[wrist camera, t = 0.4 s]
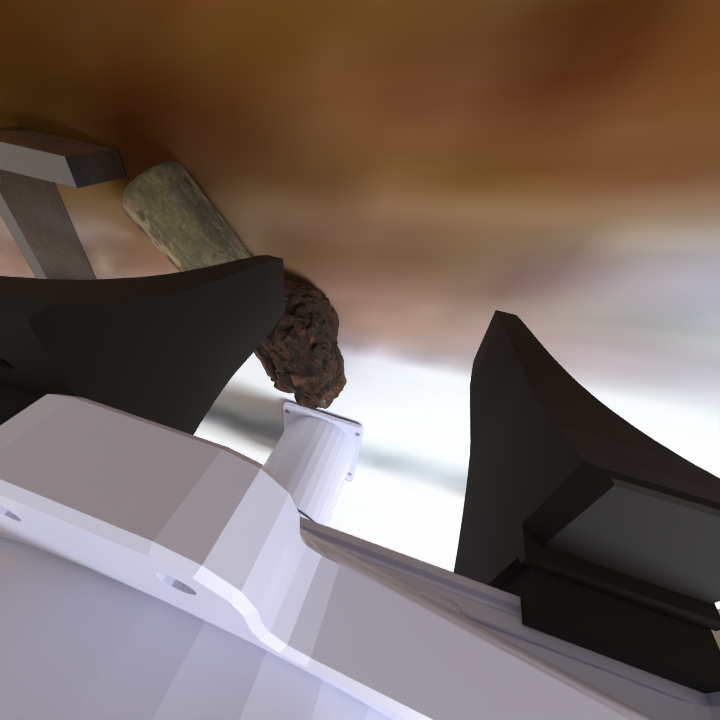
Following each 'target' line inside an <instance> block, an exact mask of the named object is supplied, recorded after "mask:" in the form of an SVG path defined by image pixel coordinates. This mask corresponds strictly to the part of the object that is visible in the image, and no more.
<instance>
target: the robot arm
mask: <svg viewBox="0 0 720 720" xmlns="http://www.w3.org/2000/svg"><path fill="white" fill-rule="evenodd" d="M284 311H285V293H284V269H283V259H281V258H277V257H273V256H269V255H261V256H254V257H249V258H244V259H239V260H235V261H231V262H226V263H222V264H218V265H213V266H209V267H204V268H199V269H193V270H188V271H183V272H178V273H171V274H165V275H156V276H148V277H137V278H119V279H99V280H67V279H38V278H22V277H6V276H0V720H720V650H719V647H718V645H717V643H716V640H715V638H714V636H713V633H712V631H711V630H714V631H718V630H720V615H719V613H718V610H717V608H716V606H715V604H714V603H715V602H718V601H720V478H718V477H716V476H714V475H713V474H711V473H709V472H707V471H705V470H703V469H702V468H700V467H698V466H696V465H694V464H693V463H691V462H689V461H687V460H686V459H684V458H682V457H681V456H679V455H678V454H676V453H674V452H673V451H671V450H669V449H668V448H666V447H665V446H663V445H661V444H660V443H658V442H657V441H655V440H653V439H652V438H650V437H649V436H647V435H646V434H644V433H643V432H641V431H640V430H638V429H637V428H635V427H634V426H632V425H631V424H630V423H628V422H627V421H626V420H624V419H623V418H621V417H620V416H619V415H617V414H616V413H615V412H613V411H612V410H610V409H609V408H608V407H607V406H605V405H604V404H603V403H601V402H600V401H599V400H598V399H597V398H595V397H594V396H593V395H592V394H591V393H589V392H588V391H587V390H586V389H585V388H584V387H582V386H581V385H580V384H579V383H578V382H577V381H576V380H575V379H574V378H573V377H572V376H570V375H569V374H568V372H567V371H566V370H565V369H564V368H563V367H562V366H561V365H560V364H559V363H558V362H557V361H556V360H555V359H554V358H553V357H552V356H551V355H550V354H549V353H548V351H547V350H546V349H545V348H544V347H543V346H542V344H541V343H540V342H539V341H538V340H537V339H536V337H535V336H534V335H533V334H532V332H531V331H530V330H529V329H528V328H527V326H526V325H525V324H524V323H523V322H522V321H521V319H520V318H519V317H518V316H517V315H514V314H510V313H506V312H501V311H497V310H496V311H495V313H494V315H493V318H492V320H491V322H490V325H489V327H488V329H487V331H486V334H485V336H484V338H483V340H482V343H481V345H480V347H479V350H478V352H477V354H476V356H475V359H474V362H473V368H472V375H471V382H470V437H471V443H470V460H469V469H468V478H467V486H466V494H465V502H464V510H463V517H462V523H461V530H460V537H459V544H458V550H457V556H456V562H455V568H454V573H453V572H450V571H448V570H445V569H442V568H439V567H437V566H434V565H431V564H428V563H426V562H423V561H420V560H417V559H415V558H412V557H409V556H407V555H404V554H401V553H398V552H396V551H393V550H390V549H387V548H385V547H382V546H379V545H377V544H374V543H371V542H368V541H366V540H363V539H360V538H357V537H355V536H352V535H349V534H346V533H344V532H341V531H338V530H336V529H333V528H330V527H327V526H328V523H329V520H330V518H331V515H332V512H333V510H334V507H335V504H336V502H337V499H338V496H339V493H340V491H341V488H342V485H343V483H344V480H346V481H353V478H354V474H355V469H356V465H357V460H358V455H359V450H360V446H361V441H362V436H363V431H364V428H363V427H362V426H361V425H359V424H356V423H353V422H349V421H346V420H343V419H340V418H337V417H334V416H331V415H328V414H325V413H321V412H318V411H315V410H311V409H309V408H306V407H303V406H300V405H297V404H293V403H290V402H285V403H284V404H283V424H284V433H283V434H282V436H281V438H280V439H279V441H278V443H277V444H276V446H275V448H274V449H273V451H272V453H271V454H270V456H269V458H268V459H267V461H266V462H265V464H264V466H263V465H262V464H260V463H258V462H256V461H254V460H252V459H250V458H248V457H246V456H244V455H242V454H240V453H238V452H236V451H234V450H232V449H230V448H228V447H225V446H222V445H220V444H217V443H214V442H211V441H208V440H205V439H202V438H199V437H196V436H193V435H194V433H195V431H196V430H197V428H198V426H199V425H200V423H201V421H202V420H203V418H204V417H205V415H206V414H207V412H208V411H209V409H210V407H211V406H212V404H213V403H214V401H215V400H216V398H217V397H218V396H219V394H220V393H221V391H222V390H223V388H224V387H225V385H226V384H227V383H228V381H229V380H230V379H231V377H232V376H233V375H234V374H235V372H236V371H237V370H238V369H239V368H240V367H241V366H242V364H243V363H244V362H245V361H246V360H247V359H248V358H249V357H250V356H251V354H252V353H253V352H254V351H255V350H256V349H257V348H258V347H259V346H260V344H261V343H262V342H263V341H264V340H265V339H266V338H267V336H268V335H269V334H270V333H271V332H272V331H273V329H274V328H275V326H276V325H277V323H278V321H279V320H280V318H281V316H282V315H283V313H284Z"/></svg>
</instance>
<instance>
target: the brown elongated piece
mask: <svg viewBox="0 0 720 720" xmlns="http://www.w3.org/2000/svg"><path fill="white" fill-rule="evenodd" d="M122 210H123V211H124V212H125V213H126V215H127V216H128V217H129V218H130V219H131V220H132V221H133V222H134V223H135V224H136V225H137V226H138V227H139V228H140V229H141V230H142V231H143V232H144V233H145V234H146V235H147V237H148V238H149V239H150V240H151V241H152V242H153V244H154V245H155V246H156V247H157V248H158V249H159V250H160V251H161V252H162V253H163V254H164V255H165V256H166V257H167V258H168V259H169V260H170V261H171V263H172V264H173V265H174V266H175V267H176V268H177V269H178V270H179V271H180V272H183V271H188V270H193V269H199V268H204V267H209V266H213V265H218V264H222V263H226V262H231V261H235V260H239V259H244V258H249V257H251V255H250V254H249V253H248V251H247V250H246V249H245V247H244V246H243V245H242V244H241V242H240V241H239V240H238V238H237V237H236V236H235V234H234V233H233V232H232V230H231V229H230V227H229V226H228V225H227V223H226V222H225V221H224V219H223V218H222V217H221V216H220V214H219V213H218V212H217V211H216V209H215V208H214V207H213V206H212V204H211V203H210V202H209V200H208V199H207V198H206V196H205V195H204V194H203V192H202V191H201V190H200V188H199V187H198V186H197V184H196V183H195V182H194V180H193V179H192V178H191V176H190V175H189V174H188V172H187V171H186V170H185V168H184V167H183V166H182V165H181V164H180V163H177V162H174V161H167V162H164V163H160V164H158V165H155V166H153V167H151V168H149V169H148V170H146V171H145V172H143V173H142V174H140V175H138V176H137V177H136V178H135V179H134V180H133V181H132V182H130V183H129V184H128V186H127V187H126V189H125V191H124V193H123V199H122ZM284 293H285V311H284V313H283V315H282V316H281V318H280V320H279V321H278V323H277V325H276V326H275V328H274V329H273V331H272V332H271V333H270V334H269V335H268V336H267V338H266V339H265V340H264V341H263V342H262V343H261V344H260V346H259V347H258V348H257V349H256V350H255V351H254V353H255V355H256V356H257V358H258V359H259V360H260V361H261V363H262V365H263V367H264V369H265V371H266V373H267V375H268V376H269V377H271V381H273V382H275V383H274V387H275V388H276V389H278V390H280V391H283V392H286V393H294V394H295V396H294V397H295V400H296V402H297V403H298V404H299V405H301V404H303V405H305V406H307V407H308V408H310V409H311V410H315V409H316V408H318V407H319V408H321V407H322V408H324V409H326V408H328V407H329V406H330V404H331V403H332V402H333V399H335V398H337V397H338V396H339V393H340V392H341V391H342V390H343V388H344V386H345V384H346V382H347V381H346V378H345V375H344V360H343V357H342V355H341V352H340V349H339V348H338V346H337V343H338V342H337V336H338V327H339V319H338V314H337V313H336V311H335V309H334V308H333V307H332V306H331V305H330V302H329V299H328V298H326V296H325V294H323V293H321V292H320V291H319V290H318V289H317V288H316V287H314V286H312V285H309V284H305V283H298V282H294V281H291V280H288V279H285V280H284Z"/></svg>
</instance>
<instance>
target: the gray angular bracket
mask: <svg viewBox="0 0 720 720" xmlns="http://www.w3.org/2000/svg"><path fill="white" fill-rule="evenodd" d="M125 177H126V174H125V171H124V168H123V165H122V161H121V158H120V155H119V152H118V149H116V148H111V147H107V146H102V145H98V144H93V143H88V142H84V141H79V140H75V139H70V138H66V137H61V136H57V135H52V134H47V133H43V132H38V131H34V130H29V129H25V128H20V127H3V128H0V215H1V217H2V219H3V220H4V222H5V224H6V226H7V228H8V229H9V231H10V233H11V235H12V236H13V238H14V240H15V242H16V243H17V245H18V247H19V249H20V250H21V252H22V254H23V256H24V257H25V259H26V261H27V263H28V265H29V266H30V268H31V270H32V272H33V273H34V275H35V277H36V278H38V279H67V280H96V277H95V275H94V273H93V270H92V268H91V266H90V264H89V261H88V259H87V257H86V255H85V252H84V250H83V248H82V245H81V243H80V241H79V239H78V236H77V234H76V232H75V229H74V227H73V225H72V223H71V220H70V218H69V216H68V213H67V211H66V209H65V207H64V204H63V202H62V200H61V197H60V195H59V193H58V191H57V188H56V186H55V184H54V183H59V184H63V185H67V186H71V187H75V188H80V187H84V186H89V185H93V184H98V183H102V182H107V181H111V180H116V179H120V178H125Z"/></svg>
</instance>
